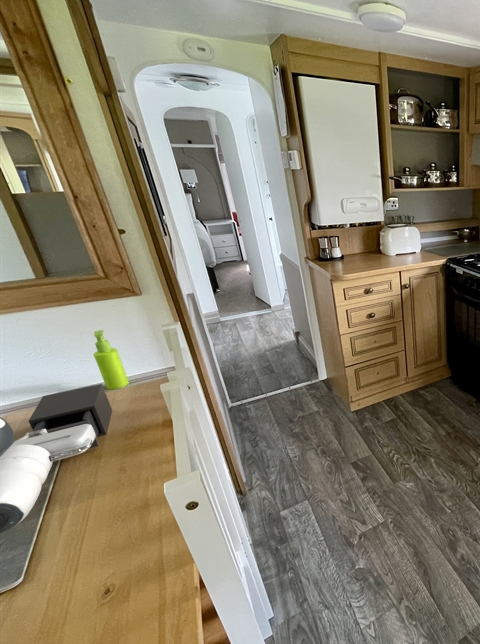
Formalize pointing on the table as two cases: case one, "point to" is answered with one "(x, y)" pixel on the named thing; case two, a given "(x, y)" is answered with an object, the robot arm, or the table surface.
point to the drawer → (70, 423)
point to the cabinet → (75, 406)
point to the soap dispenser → (109, 363)
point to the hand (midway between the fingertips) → (37, 433)
